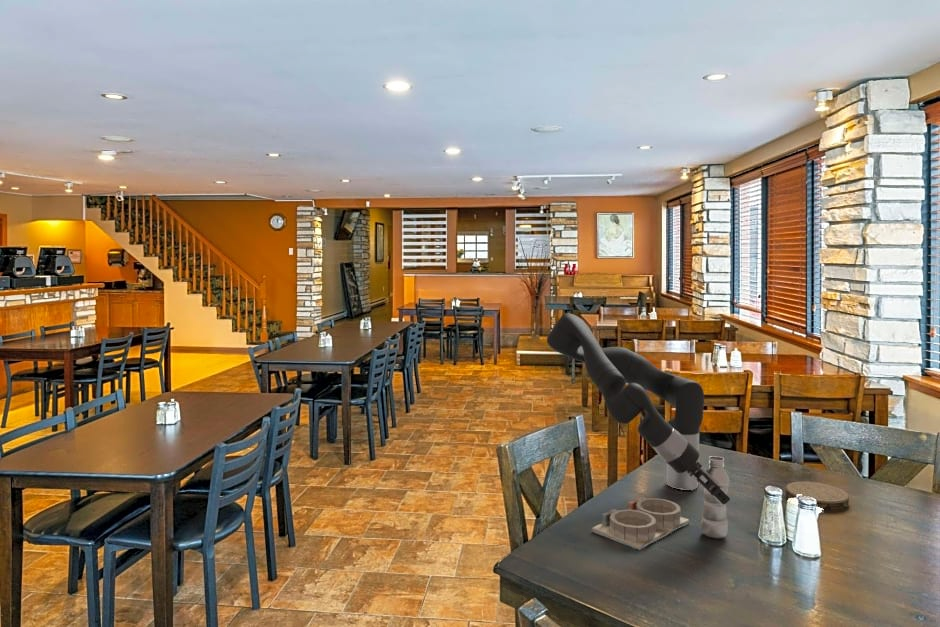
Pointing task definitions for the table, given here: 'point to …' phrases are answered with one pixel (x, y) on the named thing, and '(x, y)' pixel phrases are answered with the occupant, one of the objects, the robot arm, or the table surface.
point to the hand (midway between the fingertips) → (722, 496)
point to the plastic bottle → (715, 501)
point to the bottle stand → (642, 521)
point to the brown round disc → (820, 494)
